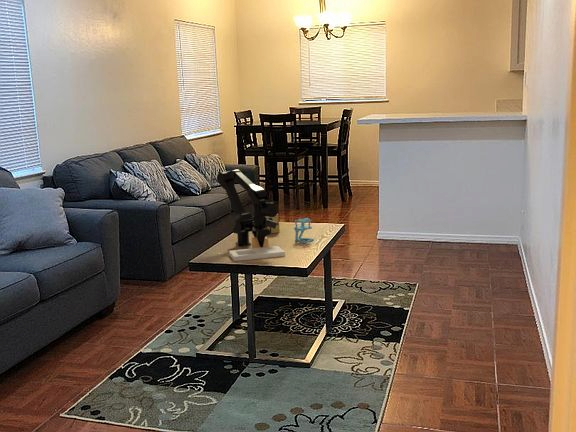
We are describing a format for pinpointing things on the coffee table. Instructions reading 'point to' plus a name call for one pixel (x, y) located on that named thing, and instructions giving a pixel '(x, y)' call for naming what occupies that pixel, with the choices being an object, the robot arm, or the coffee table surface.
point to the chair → (302, 230)
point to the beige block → (256, 244)
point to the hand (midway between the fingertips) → (260, 246)
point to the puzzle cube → (276, 225)
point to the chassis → (256, 253)
